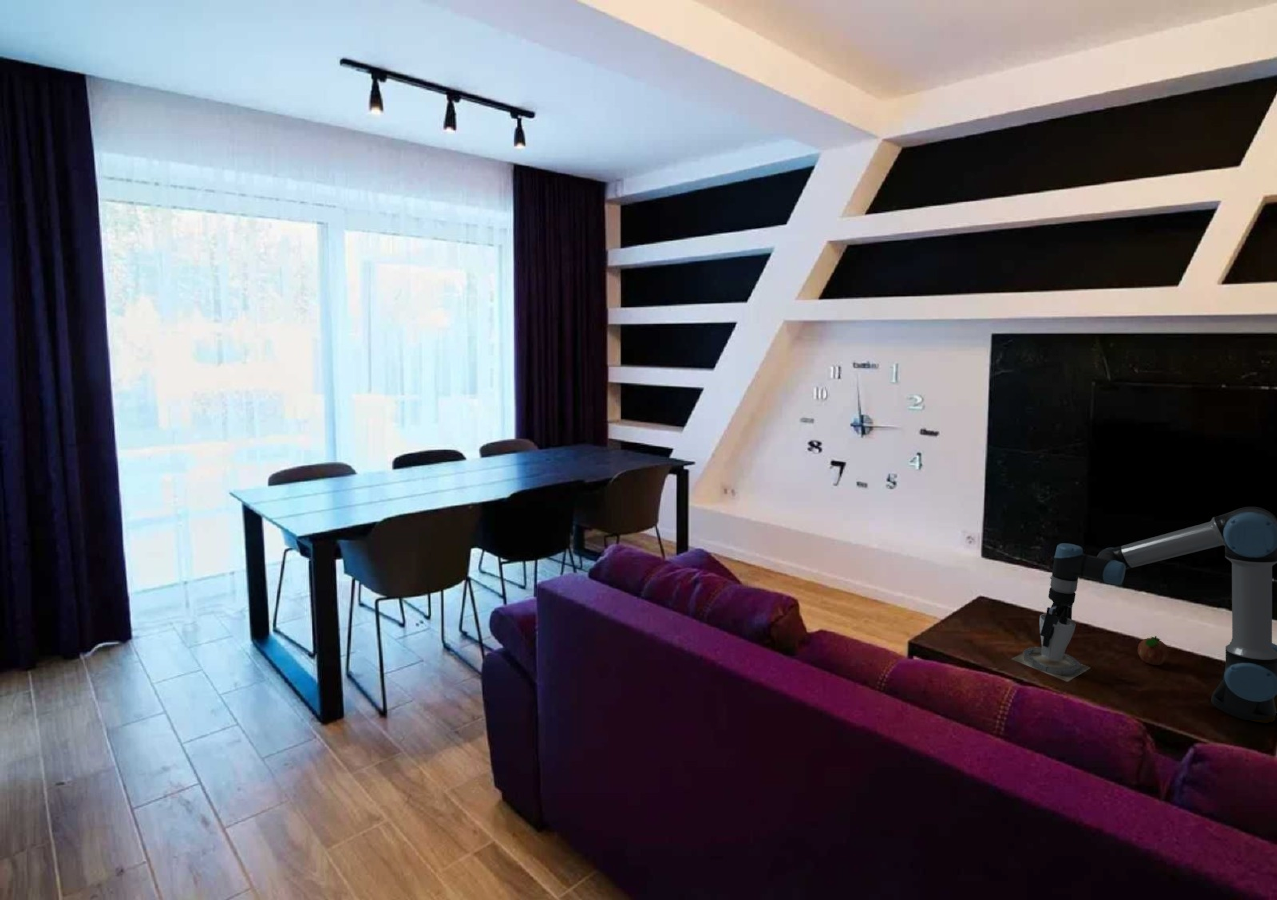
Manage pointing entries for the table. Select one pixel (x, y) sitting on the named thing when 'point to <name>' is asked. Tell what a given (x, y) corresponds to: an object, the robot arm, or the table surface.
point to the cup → (1059, 638)
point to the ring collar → (1050, 669)
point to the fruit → (1153, 651)
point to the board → (1052, 663)
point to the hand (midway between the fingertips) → (1052, 651)
